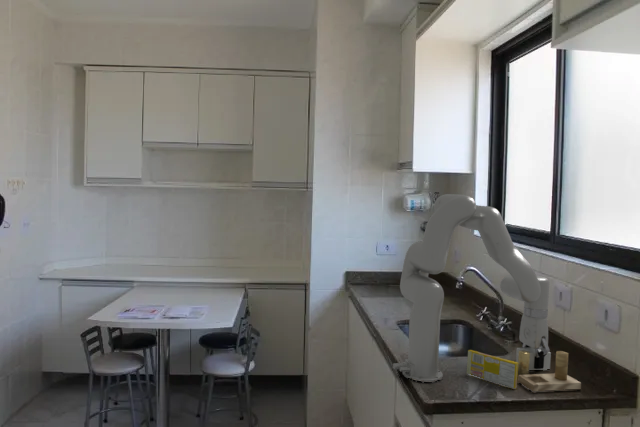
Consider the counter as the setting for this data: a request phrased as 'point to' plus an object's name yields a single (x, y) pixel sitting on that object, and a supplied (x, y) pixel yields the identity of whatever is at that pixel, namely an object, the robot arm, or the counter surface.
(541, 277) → the robot arm
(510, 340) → the counter surface
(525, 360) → the peg
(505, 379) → the candy box
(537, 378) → the board
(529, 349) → the cover
